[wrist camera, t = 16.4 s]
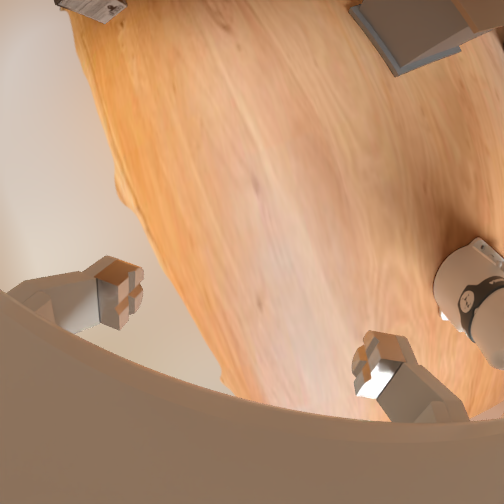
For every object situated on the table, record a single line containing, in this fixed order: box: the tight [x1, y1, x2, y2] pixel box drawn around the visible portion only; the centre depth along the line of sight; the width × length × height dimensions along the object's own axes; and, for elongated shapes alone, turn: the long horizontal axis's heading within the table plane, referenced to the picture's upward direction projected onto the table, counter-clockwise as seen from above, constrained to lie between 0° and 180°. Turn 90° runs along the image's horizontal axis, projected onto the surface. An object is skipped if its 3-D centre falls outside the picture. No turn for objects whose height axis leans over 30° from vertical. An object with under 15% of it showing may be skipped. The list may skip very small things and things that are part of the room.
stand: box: [349, 0, 504, 77], centre depth 20 cm, size 16×14×26 cm
